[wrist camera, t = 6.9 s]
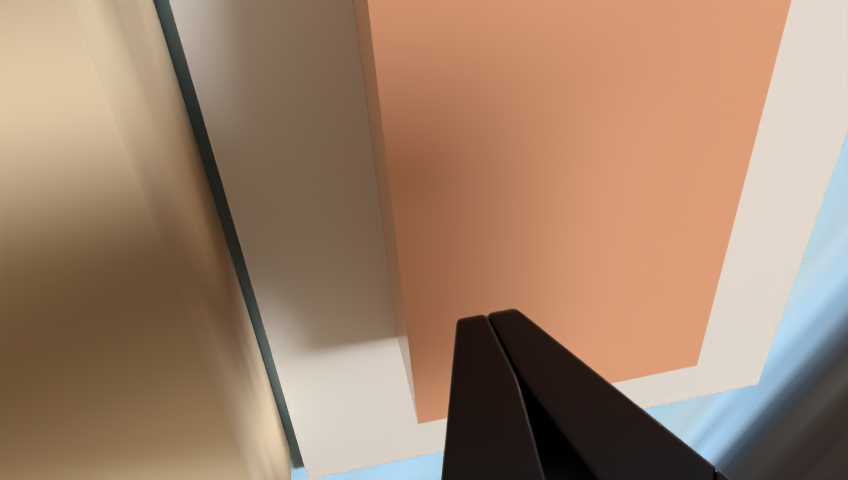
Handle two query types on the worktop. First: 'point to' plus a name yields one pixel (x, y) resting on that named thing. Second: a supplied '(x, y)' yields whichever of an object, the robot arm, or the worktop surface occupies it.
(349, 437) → the mat
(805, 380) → the worktop surface
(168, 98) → the board
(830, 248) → the worktop surface
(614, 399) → the robot arm
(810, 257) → the worktop surface
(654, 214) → the tile
